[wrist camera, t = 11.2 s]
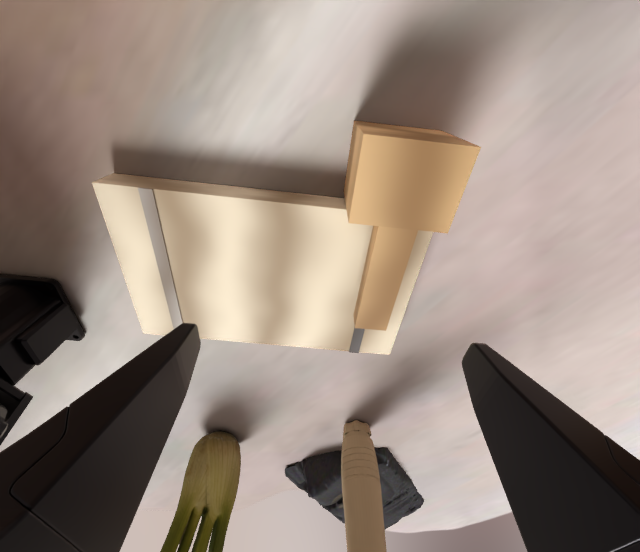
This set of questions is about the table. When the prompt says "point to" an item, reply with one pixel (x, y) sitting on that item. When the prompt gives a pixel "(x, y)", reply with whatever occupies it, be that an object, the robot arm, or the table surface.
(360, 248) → the ash plank
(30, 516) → the robot arm
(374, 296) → the marking gauge
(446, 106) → the table surface
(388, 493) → the dark slate chunk
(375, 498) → the handle
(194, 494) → the fennel bulb
